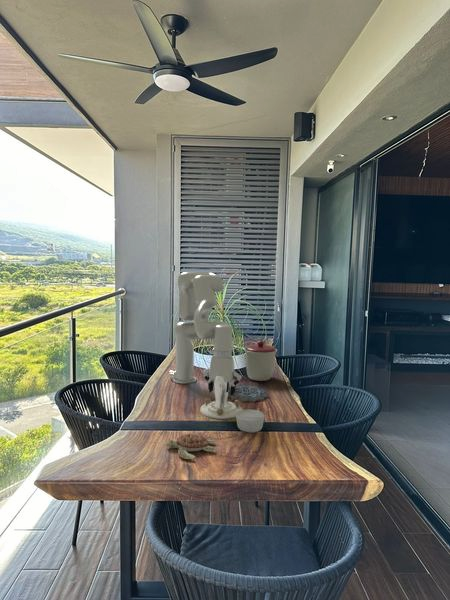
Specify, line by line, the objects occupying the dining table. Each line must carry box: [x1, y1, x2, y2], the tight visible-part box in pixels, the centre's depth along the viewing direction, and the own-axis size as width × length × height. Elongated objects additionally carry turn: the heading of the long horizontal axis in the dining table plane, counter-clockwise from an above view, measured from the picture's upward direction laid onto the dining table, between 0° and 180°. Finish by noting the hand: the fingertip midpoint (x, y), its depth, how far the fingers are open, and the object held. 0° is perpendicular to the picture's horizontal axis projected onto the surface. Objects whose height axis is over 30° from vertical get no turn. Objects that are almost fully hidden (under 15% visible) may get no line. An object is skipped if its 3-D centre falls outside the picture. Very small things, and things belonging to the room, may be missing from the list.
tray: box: [199, 397, 244, 420], centre depth 168 cm, size 18×18×4 cm
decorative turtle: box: [166, 433, 217, 460], centre depth 134 cm, size 18×17×5 cm
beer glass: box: [213, 375, 231, 410], centre depth 168 cm, size 7×7×15 cm
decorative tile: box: [228, 384, 269, 403], centre depth 189 cm, size 20×20×2 cm
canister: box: [243, 340, 278, 382], centre depth 216 cm, size 18×18×21 cm
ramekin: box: [235, 408, 265, 433], centre depth 152 cm, size 11×11×5 cm
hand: (221, 393), depth 168 cm, fingers open, 9 cm apart
